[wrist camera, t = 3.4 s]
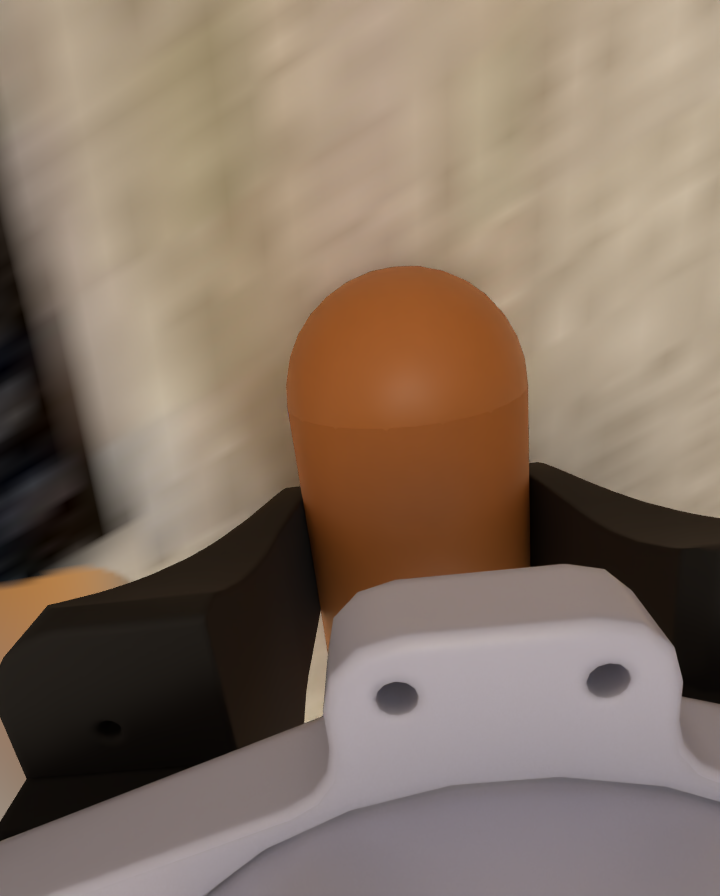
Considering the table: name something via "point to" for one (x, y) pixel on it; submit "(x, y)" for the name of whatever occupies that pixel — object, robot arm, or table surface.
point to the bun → (409, 433)
